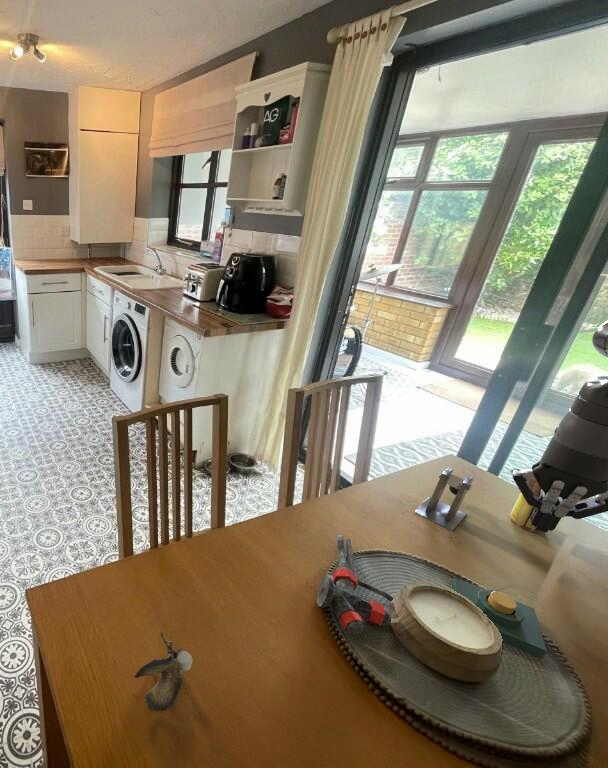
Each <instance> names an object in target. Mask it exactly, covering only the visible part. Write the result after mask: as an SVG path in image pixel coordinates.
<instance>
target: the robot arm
mask: <svg viewBox="0 0 608 768" xmlns="http://www.w3.org/2000/svg"><path fill="white" fill-rule="evenodd" d="M591 342H592V346H593V348H594V349H595V351H596V352H597V353H599V354H601V355H602V356H604V357H606V358H608V320H607V321H605V322H604V323H601V325H599V326H598V327H597V329H596V330H595V331H594V333H593V335H592V338H591ZM510 472H511V476H512V479H513V481H514V483H515V485H516V486H517V488H518V489H519V492H520V493H522V495H523V496H524V498H525V500H526V502H527V503H528V504H529V505H530V506H534V507H536V508H535V510H534V511H533V513H532V515H531V517H530V521H531V524H532V525H533V526H534V529H536V530H539V531H542V533H548V532H549V531H550V532H552V531H554V530H555V529H556V528H557V526H558V524H559V523H560V521H561V520H562V518H565V517H567V518H569V517H570V518H573V519H574V520H581V519H586V518H589V517H592V516H597V515H599V514H604V513H608V375H603V376H594V377H591V378H589V379H587V380H586V381H585V382H584V384H583V385H582V386H581V387H580V389H579V391H578V393H577V394H576V396H575V398H574V400H573V401H572V404H571V406H570V407H569V410H568V411H567V413H566V414H565V415H564V416H563V417H562V419H561V420H560V422H559V423H558V426H557V427H556V428H555V429H554V432H553V435H552V437H551V439H550V441H549V442H548V445H547V446H546V448H545V450H544V452H543V454H542V456H541V458H540V460H539V461H538V462H536V463H534V464H533V465H532V466H531V468H528V469H527V468H526V469H519V468H512V469H511V470H510ZM533 476H535V478H536V480H537V482H538V484H539V486H540V488H541V494H540V497H539V498H538V497H537V496H535V495H534V493H533V491H532V490H531V488H530V486H529V483H531V482H532V480H531V478H532V477H533Z"/></svg>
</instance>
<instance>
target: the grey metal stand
mask: <svg viewBox="0 0 608 768" xmlns="http://www.w3.org/2000/svg"><path fill="white" fill-rule="evenodd" d="M453 471H454V468H451V467H447V469H445V470H444V471H442V472H441V473H440V474H439V476H438V478H439V479H438V482H437V484H436V486H435V488H434V490H433V493H432V495H431V496H428V498H426V499H425V500H424V501H423V502H422V503H421V504H420V505H419V506H418V507H417V508H416V509H415V510H414V511H413V512H414V513H415V514H417V515H419V516H421V517H423V518H425V519H426V520H429V521H431V522H433V523H435V524H437V525H439V526H441V527H443V528H445V529H447V530H448V531H451V532H453V531H454V530H455V529H456V528H457V527H458V526H459V524H460V523H461V522H462V521H463V520H464V519H465V518H466V516H467V515H468V513H466V512H463V511H461V510H459V509H460V507H461V505H462V503H463V502H464V499H465V497H466V495H467V493H468V491H470V490H471V489H472V487H473V485H472V482H473V481H474V479H475V477H473V476H471V475H468V476H467V477H465V479H463V482H462V484H461V486H460V488H459V490H458V492H457V495H455V497H454V499H453V501H452V503H451V505H448V504H447V503H444V502H442V501H441V498H442V495H443V493H444V491H445V489H446V487H447V486H448V484H447V481H448V479H449V478H450V476H451V474H453Z"/></svg>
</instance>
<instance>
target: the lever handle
mask: <svg viewBox="0 0 608 768" xmlns="http://www.w3.org/2000/svg"><path fill="white" fill-rule="evenodd" d="M463 481H464V479H463V478H462V477H460V476H457V475H455V474H453V473H452V474H451V476H450V478H449V479H448V481H447V486H449V487H448V489H449V491H450V493H451V494H452V495H454V496H456V495H457V492H458V490H459V488H460V486H461V484H462V482H463Z"/></svg>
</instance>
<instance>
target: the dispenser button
mask: <svg viewBox="0 0 608 768" xmlns="http://www.w3.org/2000/svg"><path fill="white" fill-rule="evenodd" d="M493 591H494V592H492V593H491V594H490V596H489V598H488V603H489V604H490V606H491V607H493V608H494V609H496V610H497V611H499V612H501V613H504V614H507V615H510V614H512V613H513V612H514V610H515V609H516V607H517V605H516V603H515V601H516V600H514V599H513V598H512V597H510V596H509V595H508V594H505V593H504V592H500V591H495V590H493Z"/></svg>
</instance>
